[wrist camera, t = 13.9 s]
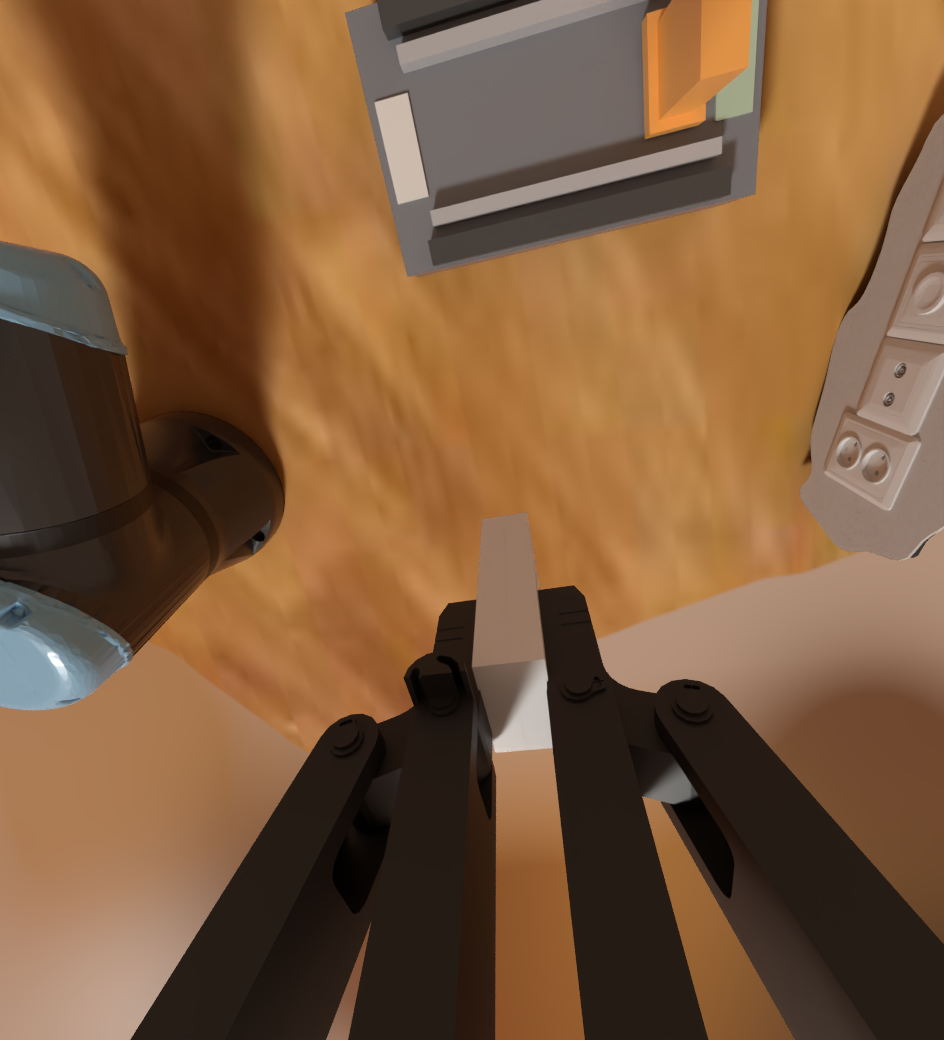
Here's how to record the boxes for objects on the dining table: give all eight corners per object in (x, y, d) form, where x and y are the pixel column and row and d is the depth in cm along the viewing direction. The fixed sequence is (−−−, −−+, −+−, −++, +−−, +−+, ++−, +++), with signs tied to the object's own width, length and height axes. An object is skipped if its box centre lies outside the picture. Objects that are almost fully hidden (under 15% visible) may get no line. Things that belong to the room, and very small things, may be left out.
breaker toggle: (644, 139, 27) (688, 97, 21) (641, 22, 25) (689, -63, 18) (698, 125, 26) (759, 78, 20) (700, 5, 24) (770, -89, 18)
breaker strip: (419, 276, 35) (403, 276, 30) (368, 52, 30) (336, -1, 24) (720, 205, 32) (766, 190, 27) (729, -61, 26) (791, -153, 21)
